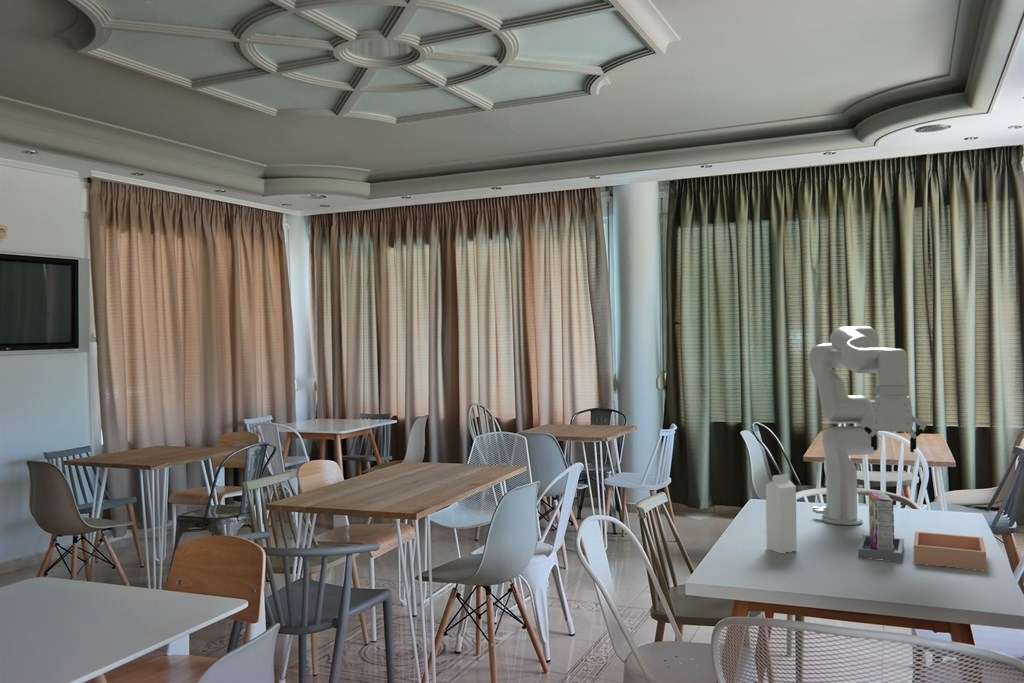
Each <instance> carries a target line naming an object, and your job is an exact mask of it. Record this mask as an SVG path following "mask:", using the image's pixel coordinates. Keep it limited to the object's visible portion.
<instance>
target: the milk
mask: <svg viewBox="0 0 1024 683" xmlns="http://www.w3.org/2000/svg"><path fill="white" fill-rule="evenodd" d="M765 510H766V511H765V512H766V513H765V515H766V518H765V521H766V524H765V525H766V532H765V533H766V549H767V550H769V551H771V550H772V552H774V551H775V553H777V552H778V553H777V554H780V553H782V554H787V553H786V552H789V553H793V552H792V551H795V552H797V551H798V548H797V545H798V544H797V542H798V541H797V486H796V485H795V484H794V483H793V481H791V480H790V476H789V473H783V474H775V475H772V480H771V481H770V482H768V483H767V484H765Z"/></svg>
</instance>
